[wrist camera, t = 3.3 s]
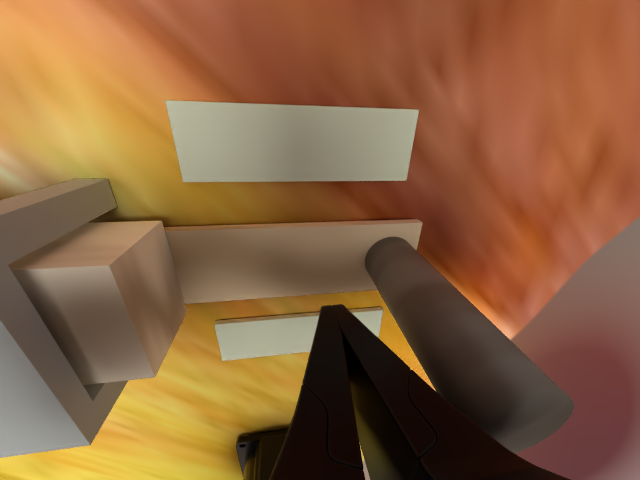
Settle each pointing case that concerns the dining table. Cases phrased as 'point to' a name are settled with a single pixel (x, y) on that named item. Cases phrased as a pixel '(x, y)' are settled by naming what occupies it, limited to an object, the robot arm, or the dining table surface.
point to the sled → (279, 281)
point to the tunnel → (44, 329)
